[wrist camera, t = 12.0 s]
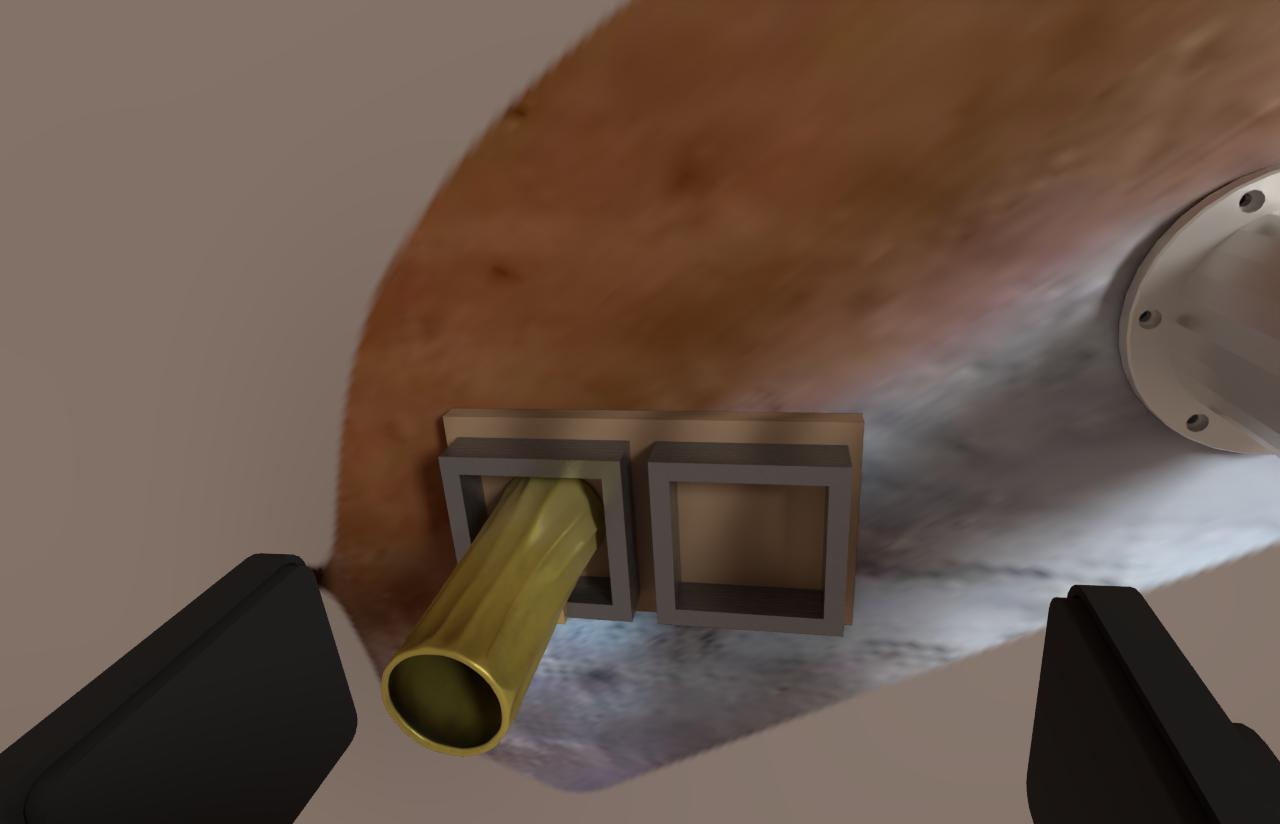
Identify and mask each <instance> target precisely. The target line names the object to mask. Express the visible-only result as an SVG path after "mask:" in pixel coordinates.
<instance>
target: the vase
mask: <svg viewBox="0 0 1280 824" xmlns="http://www.w3.org/2000/svg"><path fill="white" fill-rule="evenodd" d="M605 532H606V524H605V513H604V508H603V506H602V504H601V502H600V500H599V499H598V497H597V496H596V494H595V493H594V491H593V490H592V488H591V487H590V486H589V485H588V484H586V483H585V482H584V481H583V480H581V479H580V478H551V477H520V476H517V477H516V478H515V479H513V480H512V481H511V482H510V484H509V485H508V486H507V487H506V489H505V491H504V493H503V496H502V498H501V500H500V501H499V503H498V504H497V506H496V508H495V509H494V511H493V512H492V514H491V515H490V517H489V518H488V520H487V521H486V523H485V524H484V526H483V527H482V529H481V531H480V532H479V534H478V535H477V537H476V538H475V540H474V541H473V543H472V544H471V546H470V547H469V549H468V550H467V552H466V553H465V555H464V556H463V557H462V559H461V560H460V561H459V563H458V564H457V566H456V567H455V569H454V570H453V572H452V573H451V574H450V576H449V578H448V579H447V581H446V582H445V584H444V585H443V587H442V588H441V590H440V591H439V593H438V594H437V595H436V597H435V598H434V600H433V601H432V603H431V604H430V606H429V607H428V609H427V610H426V611H425V613H424V614H423V616H422V617H421V619H420V620H419V621H418V623H417V624H416V626H415V627H414V628H413V630H412V631H411V633H410V634H409V635H408V637H407V638H406V639H405V641H404V642H403V643H402V645H401V646H400V648H399V649H398V650H397V652H396V653H395V654H394V656H393V657H392V659H391V660H390V662H389V663H388V664H387V666H386V668H385V670H384V672H383V676H382V682H381V695H382V700H383V702H384V705H385V707H386V710H387V711H388V713H389V715H390V716H391V718H392V719H393V720H394V722H395V723H396V724H397V725H398V726H399V727H400V728H401V729H402V730H403V731H404V732H405V733H406V734H407V735H408V736H409V737H411V738H412V739H413V740H415V741H416V742H417V743H419V744H421V745H422V746H424V747H426V748H428V749H431V750H433V751H436V752H439V753H444V754H449V755H453V756H461V757H464V756H474V755H478V754H482V753H484V752H487V751H489V750H490V749H492V748H493V747H495V746H496V745H497V744H498V743H499V742H500V740H501V739H502V738H503V737H504V735H505V734H506V733H507V731H508V730H509V728H510V726H511V725H512V723H513V721H514V719H515V717H516V715H517V713H518V710H519V708H520V705H521V703H522V700H523V698H524V696H525V694H526V692H527V689H528V687H529V685H530V683H531V680H532V678H533V676H534V674H535V671H536V669H537V667H538V665H539V662H540V660H541V658H542V656H543V654H544V652H545V650H546V647H547V645H548V643H549V641H550V638H551V636H552V634H553V632H554V629H555V627H556V625H557V622H558V620H559V617H560V614H561V612H562V610H563V607H564V606H565V604H566V602H567V600H568V598H569V596H570V595H571V593H572V591H573V589H574V587H575V585H576V583H577V581H578V578H579V576H580V575H581V573H582V571H583V570H584V569H585V567H586V566H587V564H588V562H589V561H590V559H591V557H592V556H593V554H594V553H595V551H596V550H597V549H598V548H599V547H600V545H601V544H602V542H603V540H604V536H605Z"/></svg>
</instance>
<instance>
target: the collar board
mask: <svg viewBox="0 0 1280 824" xmlns="http://www.w3.org/2000/svg"><path fill="white" fill-rule="evenodd" d="M443 422H444V427H445V433H446V439H447V445H448V446H449V445H450V444H451V443H452V442H453V441H454V440H455V439H456V438H457V437H482V438H531V439H579V440H627V441H630V453H631V467H632V481H633V495H634V509H635V523H636V537H637V550H638V564H639V578H640V592H641V594H640V598H639V601H638V604H637V608H636V611H647V612H657V603H656V587H655V571H654V555H653V539H652V523H651V507H650V490H649V474H648V460H649V458H650V455H651V453H652V450H653V448H654V445H655V443H656V441H675V442H723V443H772V444H820V445H848V447H849V452H850V457H851V462H852V486H851V505H850V523H849V541H848V559H847V578H846V596H845V614H844V625H852V619H853V602H854V586H855V569H856V552H857V536H858V519H859V502H860V486H861V469H862V452H863V436H864V420H863V416H862V414H859V413H779V412H700V411H621V410H541V409H462V408H452V409H451V410H449V411H448V412H447V413H446V414H445V415H444V416H443ZM481 477H482V484H483V490H484V496H485V503H486V509H487V515H488V518H489V517H490V515H491V514H492V512H493V511H494V509H495V508H496V506H497V504H498V503H499V501H500V500H501V498H502V496H503V493H504V491H505V489H506V487H507V486H508V485H509V484H510V482H511V481H512V480H513V479H515V478H516V477H517V476H488V475H481ZM580 479H581V480H583V481H584V482H585V483H586V484H588V485H589V486H590V487H591V488H592V490H593V491H594V493H595V494H596V496H597V497H598V499H599V500H600V502H601V504H602V506H603V508H604V502H603V490H602V479H583V478H580ZM825 487H826V486H806V485H774V484H742V483H710V482H679V481H677V492H678V514H679V535H680V557H681V579H682V582H697V583H714V584H732V585H749V586H766V587H783V588H800V589H817V590H821V588H822V563H823V538H824V512H825ZM580 576H594V577H610V569H609V557H608V546H607V535H606V532H605V536H604V540H603V542H602V544H601V545H600V547H599V548H598V549H597V550H596V551H595V553H594V554H593V556H592V557H591V559H590V561H589V562H588V564H587V566H586V567H585V569H584V570H583V571H582V573H581V575H580Z"/></svg>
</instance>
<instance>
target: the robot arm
mask: <svg viewBox="0 0 1280 824" xmlns="http://www.w3.org/2000/svg"><path fill="white" fill-rule="evenodd" d="M1244 194H1245V200H1244V202H1243V203H1242V204H1240V205H1239V201H1240V199H1241V198H1242V196H1243V195H1244ZM1145 311H1147V314H1146V316H1145V317H1144V318H1143V319H1139V318H1140V316H1141V314H1142V313H1144V312H1145ZM1119 350H1120V355H1121V360H1122V365H1123V370H1124V372H1125V374H1126V376H1127V379H1128V381H1129V383H1130V385H1131V387H1132V389H1133V391H1134V393H1135V394H1136V395H1137V396H1138V398H1139V399H1140V400H1141V401H1142V403H1143V404H1144V405H1145V406H1146V408H1147V409H1148V410H1149V411H1150V412H1151V413H1153V414H1154V415H1155V416H1156V417H1157V418H1159V419H1160V420H1161V421H1162V422H1163V423H1164V424H1166V425H1167V426H1168V427H1170V428H1171V429H1173V430H1174V431H1176V432H1177V433H1179V434H1180V435H1182V436H1184V437H1186V438H1188V439H1190V440H1193V441H1195V442H1198V443H1201V444H1203V445H1206V446H1209V447H1211V448H1214V449H1219V450H1225V451H1230V452H1236V453H1241V454H1275V455H1277V456H1278V457H1279V458H1280V164H1276V165H1273V166H1270V167H1268V168H1265V169H1262V170H1260V171H1257V172H1254V173H1252V174H1249V175H1246V176H1244V177H1241V178H1239V179H1237V180H1235V181H1234V182H1232V183H1230V184H1228V185H1226V186H1225V187H1223V188H1221V189H1219V190H1217V191H1216V192H1214V193H1212V194H1210V195H1208V196H1207V197H1206V198H1205V199H1203V200H1202V201H1201V202H1199V203H1198V204H1197V205H1195V206H1194V207H1193V208H1191V209H1190V210H1189V211H1188V212H1186V213H1185V214H1184V215H1182V216H1181V217H1180V218H1179V219H1178V220H1177V221H1176V222H1175V223H1174V224H1173V225H1172V226H1171V227H1170V228H1169V229H1168V230H1167V231H1166V232H1165V233H1164V234H1163V235H1162V236H1161V237H1160V238H1159V240H1158V241H1157V242H1156V243H1155V245H1154V246H1153V247H1152V249H1151V250H1150V252H1149V253H1148V255H1147V256H1146V257H1145V259H1144V260H1143V262H1142V263H1141V265H1140V266H1139V268H1138V270H1137V272H1136V274H1135V276H1134V278H1133V280H1132V283H1131V285H1130V287H1129V289H1128V291H1127V293H1126V297H1125V301H1124V305H1123V309H1122V313H1121V317H1120V321H1119ZM1191 416H1192V417H1191ZM1190 417H1191V418H1190ZM1189 418H1190V419H1189ZM356 728H357V713H356V709H355V706H354V703H353V700H352V697H351V693H350V690H349V686H348V683H347V680H346V677H345V673H344V670H343V667H342V663H341V660H340V657H339V653H338V650H337V647H336V644H335V640H334V637H333V634H332V631H331V627H330V624H329V621H328V617H327V614H326V611H325V607H324V604H323V601H322V598H321V594H320V591H319V588H318V584H317V581H316V578H315V575H314V573H313V571H312V570H311V569H310V568H309V567H307V566H306V565H305V563H304V561H303V560H302V559H301V558H300V557H299V556H296V555H289V554H288V555H287V554H262V553H260V554H253V555H252V556H250V557H248V558H246V559H245V560H244V561H243V562H242V563H240V564H239V565H238V566H236V567H235V568H234V569H233V570H231V571H230V572H229V573H228V574H226V575H225V576H224V577H222V578H221V579H220V580H219V581H217V582H216V583H215V584H214V585H212V586H211V587H210V588H209V589H207V590H206V591H205V592H204V593H202V594H201V595H200V596H199V597H197V598H196V599H195V600H193V601H192V602H191V603H190V604H188V605H187V606H186V607H185V608H183V609H182V610H181V611H180V612H178V613H177V614H176V615H175V616H173V617H172V618H171V619H170V620H168V621H167V622H166V623H164V624H163V625H162V626H161V627H159V628H158V629H157V630H156V631H154V632H153V633H152V634H151V635H149V636H148V637H147V638H146V639H144V640H143V641H142V642H141V643H139V644H138V645H137V646H136V647H134V648H133V649H132V650H131V651H129V652H128V653H127V654H125V655H124V656H123V657H122V658H120V659H119V660H118V661H117V662H115V663H114V664H113V665H111V666H110V667H109V668H108V669H106V670H105V671H104V672H103V673H101V674H100V675H99V676H98V677H97V678H95V679H94V680H93V681H91V682H90V683H89V684H88V685H86V686H85V687H84V688H82V689H81V690H80V691H79V692H77V693H76V694H75V695H74V696H72V697H71V698H70V699H69V700H67V701H66V702H65V703H64V704H62V705H61V706H60V707H59V708H57V709H56V710H55V711H54V712H52V713H51V714H50V715H48V716H47V717H46V718H45V719H44V720H42V721H41V722H40V723H38V724H37V725H36V726H35V727H33V728H32V729H31V730H30V731H28V732H27V733H26V734H25V735H23V736H22V737H21V738H20V739H18V740H17V741H16V742H14V743H13V744H12V745H11V746H9V747H8V748H7V749H6V750H4V751H3V752H2V753H1V754H0V824H293V822H294V821H295V820H296V818H297V817H298V816H299V814H300V813H301V811H302V810H303V809H304V807H305V806H306V804H307V803H308V802H309V800H310V799H311V797H312V796H313V795H314V793H315V792H316V791H317V789H318V788H319V787H320V785H321V784H322V782H323V781H324V780H325V778H326V777H327V775H328V774H329V773H330V771H331V770H332V769H333V767H334V766H335V764H336V763H337V761H338V760H339V759H340V757H341V756H342V755H343V753H344V752H345V751H346V749H347V748H348V746H349V745H350V743H351V742H352V740H353V737H354V735H355V733H356ZM1026 784H1027V797H1028V804H1029V809H1030V813H1031V816H1032V819H1033V822H1034V824H1280V761H1279V760H1278V759H1277V757H1276V756H1275V755H1274V753H1273V752H1272V751H1271V750H1270V748H1269V747H1268V745H1267V744H1266V743H1265V742H1264V741H1263V740H1262V739H1261V738H1260V736H1259V735H1258V734H1257V733H1256V732H1255V731H1254V730H1252V729H1250V728H1249V727H1247V726H1245V725H1243V724H1242V723H1232V722H1231V721H1230V719H1229V718H1228V717H1227V715H1226V714H1225V712H1224V711H1223V709H1222V708H1221V707H1220V705H1219V704H1218V702H1217V701H1216V700H1215V698H1214V697H1213V695H1212V694H1211V693H1210V691H1209V690H1208V688H1207V687H1206V685H1205V684H1204V683H1203V681H1202V680H1201V678H1200V677H1199V675H1198V674H1197V673H1196V671H1195V670H1194V668H1193V667H1192V666H1191V664H1190V663H1189V661H1188V660H1187V658H1186V657H1185V656H1184V654H1183V653H1182V652H1181V650H1180V649H1179V647H1178V646H1177V645H1176V643H1175V642H1174V640H1173V639H1172V637H1171V636H1170V634H1169V633H1168V632H1167V630H1166V629H1165V627H1164V626H1163V625H1162V623H1161V622H1160V620H1159V619H1158V617H1157V616H1156V615H1155V613H1154V612H1153V610H1152V609H1151V608H1150V606H1149V605H1148V603H1147V602H1146V601H1145V599H1144V598H1143V596H1142V595H1141V594H1140V593H1139V592H1138V591H1137V590H1136V589H1135V588H1132V587H1121V586H1095V585H1074V586H1072V587H1071V588H1070V590H1069V592H1068V596H1067V598H1058V597H1055V598H1053V599H1052V601H1051V603H1050V607H1049V612H1048V620H1047V628H1046V635H1045V643H1044V651H1043V658H1042V666H1041V673H1040V681H1039V688H1038V695H1037V703H1036V710H1035V718H1034V726H1033V733H1032V741H1031V748H1030V756H1029V763H1028V771H1027V782H1026Z"/></svg>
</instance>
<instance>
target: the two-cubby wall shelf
mask: <svg viewBox="0 0 1280 824" xmlns="http://www.w3.org/2000/svg"><path fill="white" fill-rule="evenodd" d="M438 459H439V465H440V470H441V476H442V481H443V487H444V492H445V498H446V503H447V509H448V514H449V520H450V525H451V531H452V536H453V542H454V547H455V553H456V558H457V564H458V563H459V561H460V560H461V559H462V557H463V556H464V555H465V553H466V552H467V550H468V549H469V547H470V546H471V544H472V543H473V541H474V540H475V538H476V537H477V535H478V534H479V532H480V531H481V529H482V527H483V526H484V524H485V523H486V521H487V520H488V515H487V509H486V503H485V496H484V490H483V484H482V477H481V475H488V476H520V477H551V478H583V479H602V490H603V502H604V513H605V524H606V535H607V546H608V557H609V569H610V577H594V576H579V578H578V581H577V583H576V585H575V587H574V589H573V591H572V593H571V595H570V596H569V598H568V600H567V602H566V604H565V606H564V607H563V610H562V612H561V614H560V617H559V620H558V622H557V624H565V623H566V621H567V619H568V617H570V618H584V619H598V620H613V621H627V622H632V621H633V618H634V614H635V611H636V608H637V604H638V601H639V598H640V594H641V592H640V578H639V564H638V550H637V537H636V523H635V509H634V495H633V481H632V467H631V453H630V441H627V440H579V439H531V438H482V437H457V438H456V439H455V440H454V441H453V442H452V443H451V444H450V445H449V446H448V447H447V448H446V449H445V450H444V451H443V452H442V453H441V454H440V455H439V456H438ZM648 474H649V490H650V507H651V523H652V539H653V555H654V571H655V587H656V603H657V619H658V624H670V625H684V626H698V627H713V628H727V629H741V630H756V631H770V632H784V633H798V634H813V635H827V636H841V637H843V632H844V614H845V596H846V578H847V559H848V541H849V523H850V505H851V486H852V462H851V457H850V452H849V447H848V445H820V444H772V443H723V442H675V441H656V443H655V445H654V448H653V450H652V453H651V455H650V458H649V460H648ZM677 481H679V482H710V483H742V484H774V485H806V486H826V487H825V512H824V538H823V563H822V588H821V590H817V589H800V588H783V587H766V586H749V585H732V584H714V583H697V582H682V579H681V557H680V535H679V514H678V492H677Z"/></svg>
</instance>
